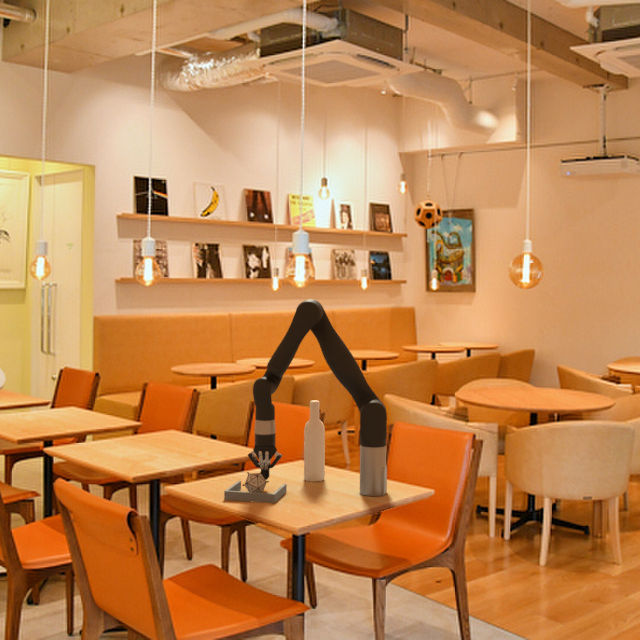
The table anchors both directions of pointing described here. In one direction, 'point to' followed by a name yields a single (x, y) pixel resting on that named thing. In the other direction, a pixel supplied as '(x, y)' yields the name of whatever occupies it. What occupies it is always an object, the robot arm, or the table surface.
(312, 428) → the bottle
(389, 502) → the table surface
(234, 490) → the bay
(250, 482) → the game die
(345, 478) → the table surface
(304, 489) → the table surface
